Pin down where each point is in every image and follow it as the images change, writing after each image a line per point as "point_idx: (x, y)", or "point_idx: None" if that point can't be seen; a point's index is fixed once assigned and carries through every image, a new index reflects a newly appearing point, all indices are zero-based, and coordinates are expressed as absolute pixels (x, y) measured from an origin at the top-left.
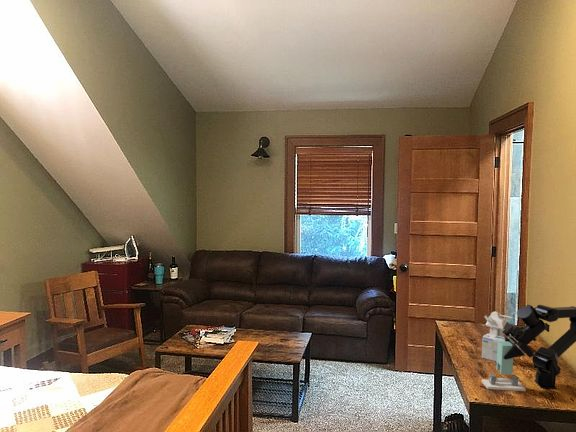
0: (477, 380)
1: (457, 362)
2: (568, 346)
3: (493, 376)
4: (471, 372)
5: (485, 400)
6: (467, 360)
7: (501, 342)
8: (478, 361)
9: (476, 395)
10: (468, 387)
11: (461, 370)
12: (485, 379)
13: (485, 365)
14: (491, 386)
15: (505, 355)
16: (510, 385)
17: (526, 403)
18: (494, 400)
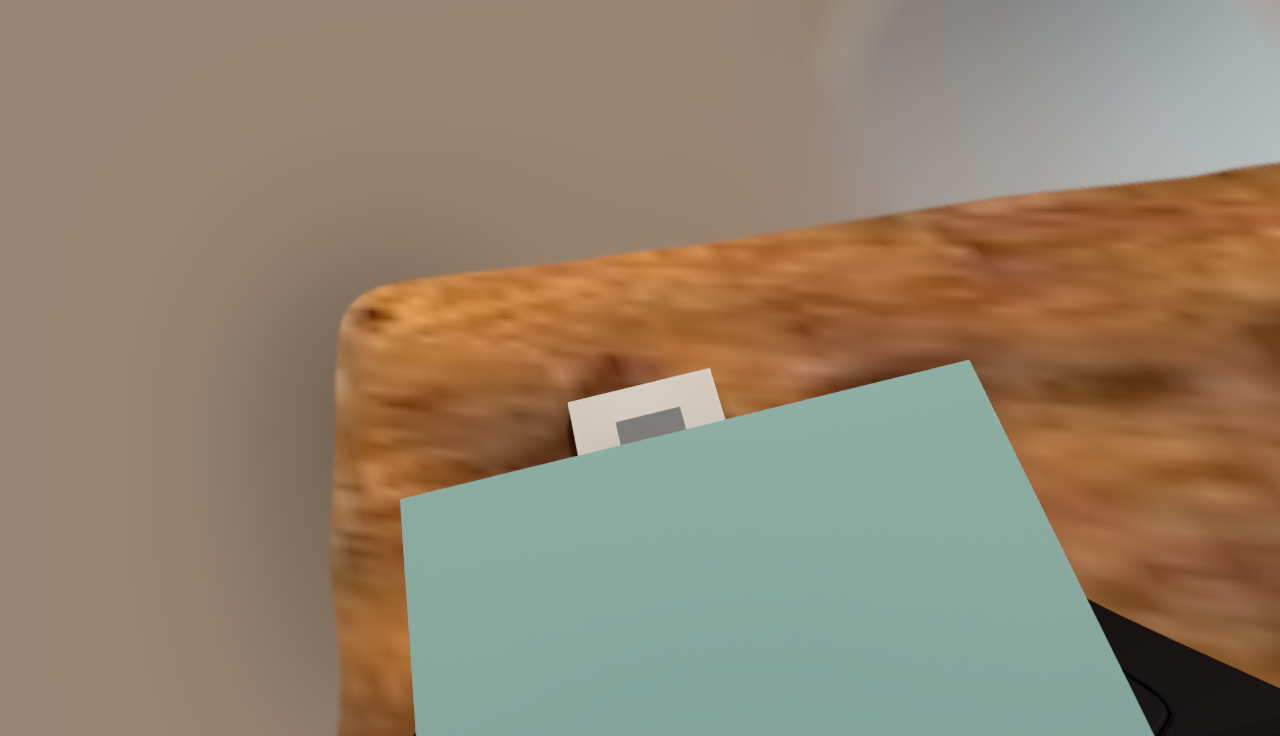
0: (717, 344)
1: (1039, 212)
2: None
3: (619, 439)
4: (871, 307)
5: (362, 377)
6: (1152, 286)
7: (837, 500)
8: (1200, 378)
9: (432, 322)
10: (555, 276)
11: (872, 237)
12: (717, 397)
13: (1132, 435)
14: (580, 434)
15: None
16: None
17: (371, 713)
18: (375, 441)
